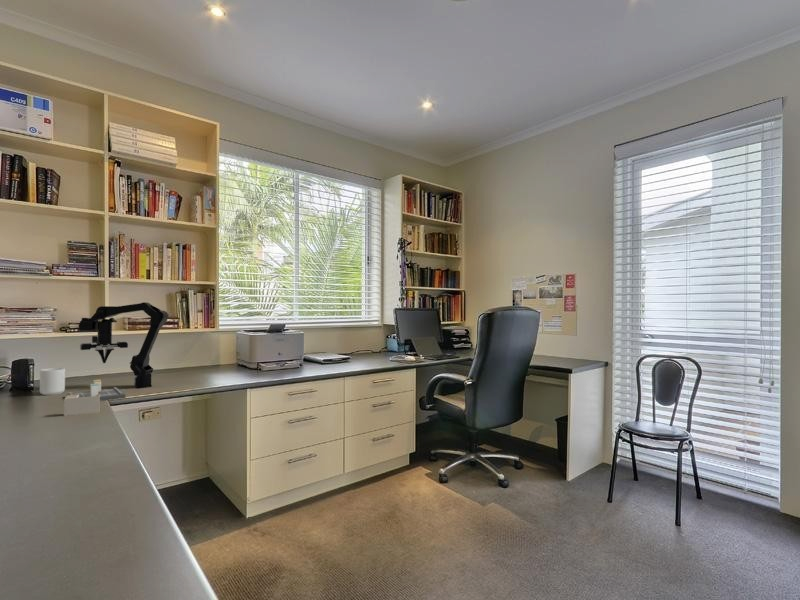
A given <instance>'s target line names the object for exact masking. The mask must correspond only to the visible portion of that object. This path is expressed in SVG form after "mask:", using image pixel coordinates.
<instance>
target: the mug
mask: <svg viewBox="0 0 800 600" xmlns="http://www.w3.org/2000/svg"><path fill="white" fill-rule="evenodd" d="M65 390H66V368H65V367H52V368H51V367H50V368H42V369H39V393H40V394H41V395H42V396H53V395H55V396H56V395H60V394H63V392H65Z"/></svg>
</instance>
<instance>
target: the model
mask: <svg viewBox="0 0 800 600" xmlns="http://www.w3.org/2000/svg"><path fill="white" fill-rule="evenodd" d="M100 393H101V392H100ZM100 393H99V394H98V395H96V396H93V397H79V395H68V396H66V395H65V398H63V400H64V401H63V416H64V417H67V416H66V415H69V416H77V415H78V416H80V415H89V414H99V412H100V409H101V408H100V405H101V401H100V396H99V395H100ZM78 397H79V398H78ZM79 414H80V415H79Z"/></svg>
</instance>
